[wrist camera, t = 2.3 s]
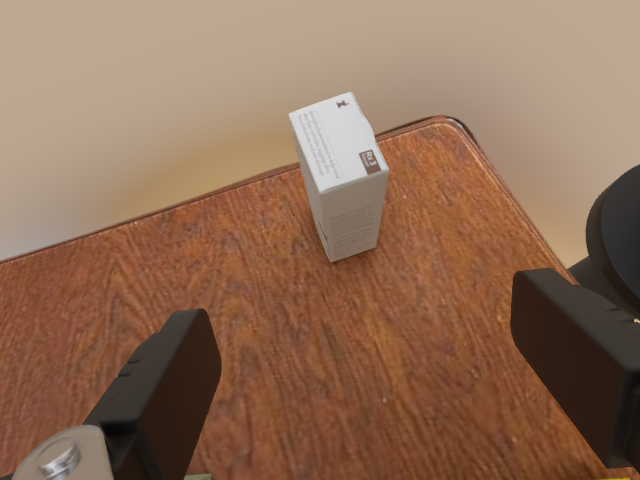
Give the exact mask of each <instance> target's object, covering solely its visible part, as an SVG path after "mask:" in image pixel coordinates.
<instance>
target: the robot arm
mask: <svg viewBox="0 0 640 480" xmlns="http://www.w3.org/2000/svg"><path fill="white" fill-rule="evenodd" d="M510 326H511V333H512V337H513V340H514V342H515V345H516V347H517V348H518V350H519V351H520V352H521V354H522V355H523V356H524V358H525V359H526V361H527V362H528V363H529V365H530V366H531V367H532V369H533V370H534V371H535V373H536V374H537V375H538V377H539V378H540V379H541V381H542V382H543V383H544V385H545V386H546V387H547V389H548V390H549V391H550V393H551V394H552V396H553V397H554V398H555V400H556V401H557V402H558V404H559V405H560V406H561V408H562V409H563V410H564V412H565V413H566V414H567V416H568V417H569V418H570V420H571V421H572V422H573V424H574V425H575V427H576V428H577V429H578V431H579V432H580V433H581V435H582V436H583V437H584V439H585V440H586V441H587V443H588V444H589V445H590V447H591V448H592V449H593V451H594V452H595V453H596V455H597V456H598V457H599V459H600V460H601V462H602V463H603V464H604V466H605V467H606V468H607V469H610V468H622V467H634V468H635V469H636V470H637V472H638V473H639V474H640V323H638V322H634V319H633V318H632V317H630V316H629V315H628V314H626V313H625V312H623V311H619V309H618V307H617V306H615V305H614V304H613V303H611V302H610V301H609V300H607V299H606V298H605V297H603V296H602V295H601V294H598V293H596V292H594V291H591V290H589V289H586V288H584V287H582V286H579V285H572V284H571V283H570V282H569V281H567V280H566V279H565V278H563V277H562V276H561V275H560V274H558V273H557V272H556V271H555V270H553V269H552V268H541V269H533V270H524V271H518V272H516V273H515V274H514V277H513V286H512V303H511V321H510ZM127 362H128V363H127V365H125V366H124V367H123V368H122V370H121V371H120V372H119V374H118V378H115V379H114V381H113V382H112V384H111V385H110V386H109V388H108V389H107V390H106V392H105V393H104V395H103V396H102V397H101V399H100V400H99V401H98V403H97V404H96V406H95V407H94V408H93V410H92V411H91V413H90V414H89V415H88V417H87V418H86V419H85V421H84V422H83V424H82V425H79V426H75V427H72V428H69V429H66V430H64V431H62V432H59V433H57V434H56V435H54V436H52V437H50V438H49V439H47V440H46V441H44V442H43V443H41V444H40V445H39V446H38V447H36V448H35V449H34V450H33V451H32V452H31V453H30V454H29V455H28V456H27V457H26V458H25V459H24V460H23V461H22V462H21V464H20V465H19V466H18V468H17V470H16V471H15V473H13V474H10V475H7V476H4V477H1V478H0V480H184V478H185V475H186V472H187V469H188V467H189V464H190V461H191V458H192V455H193V453H194V450H195V447H196V444H197V442H198V439H199V436H200V433H201V430H202V428H203V425H204V422H205V419H206V417H207V414H208V411H209V408H210V406H211V403H212V400H213V397H214V394H215V392H216V389H217V386H218V383H219V380H220V377H221V357H220V353H219V349H218V346H217V343H216V340H215V336H214V333H213V330H212V326H211V323H210V320H209V316H208V314H207V312H206V311H205V310H204V309H202V308H201V309H193V310H184V311H176V312H174V313H172V315H171V316H170V317H169V319H168V320H167V322H166V323H165V325H164V326H163V328H162V329H161V331H160V332H158V333H154V334H153V335H152V336H151V337H149V338H148V339H147V340H146V341H144V342H143V343H142V344H141V345H139V346H138V348H137V349H136V350H135V352H134V353H133V354H132V356H131V357H130V359H129V360H128V361H127Z"/></svg>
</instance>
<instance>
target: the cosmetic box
mask: <svg viewBox="0 0 640 480" xmlns="http://www.w3.org/2000/svg"><path fill="white" fill-rule="evenodd" d="M288 117H289V120H290V124H291V127H292V131H293V136H294V141H295V145H296V149H297V154H298V158H299V162H300V167H301V171H302V175H303V179H304V183H305V187H306V192H307V196H308V201H309V204H310V208H311V212H312V215H313V219H314V222H315V225H316V228H317V231H318V234H319V237H320V239H321V242H322V245H323V247H324V250H325V252H326V255H327V257H328V259H329V262H334V261H337V260H341V259H344V258H347V257H350V256H352V255H355V254H358V253H361V252H364V251H367V250H370V249H373V248H375V247H376V245H377V239H378V232H379V227H380V221H381V215H382V209H383V203H384V198H385V192H386V186H387V181H388V175H389V167H388V166H387V164H386V162H385V159H384V157H383V155H382V153H381V151H380V149H379V147H378V145H377V143H376V141H375V137H374V133H373V130H372V128H371V126H370V124H369V123H368V121H367V119H366V118H365V117H364V115H363V113H362V111H361V109H360V107H359V105H358V103H357V101H356V99H355V97H354V95H353V93H352V92H348V93H345V94H342V95H339V96H336V97H333V98H330V99H327V100H324V101H321V102H319V103H316V104H313V105H310V106H307V107H304V108H302V109H299V110H297V111H295V112H292V113H290V114H289V115H288Z"/></svg>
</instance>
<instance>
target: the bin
mask: <svg viewBox="0 0 640 480" xmlns="http://www.w3.org/2000/svg"><path fill="white" fill-rule="evenodd" d="M184 480H212V474H211V473H209V474H198V475H187V476H185V478H184Z"/></svg>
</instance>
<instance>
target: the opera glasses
mask: <svg viewBox="0 0 640 480" xmlns="http://www.w3.org/2000/svg"><path fill="white" fill-rule="evenodd" d="M598 480H630V479H629V478H612V479H598Z"/></svg>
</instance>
